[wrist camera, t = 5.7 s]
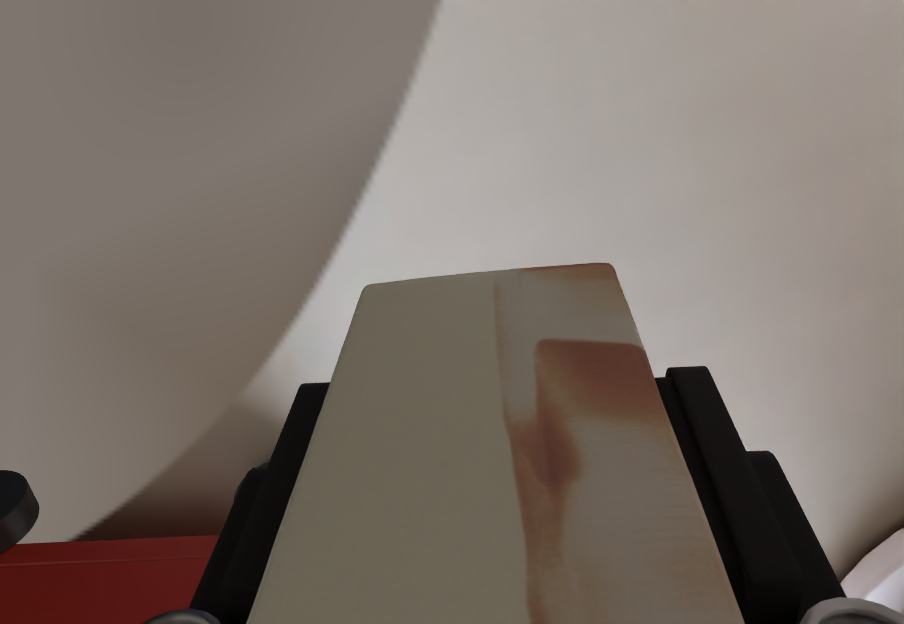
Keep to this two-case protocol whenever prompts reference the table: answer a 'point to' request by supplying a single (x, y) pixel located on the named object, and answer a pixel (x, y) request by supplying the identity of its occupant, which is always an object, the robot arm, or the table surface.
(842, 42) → the table surface
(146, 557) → the cart
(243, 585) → the robot arm
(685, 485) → the white carton box
